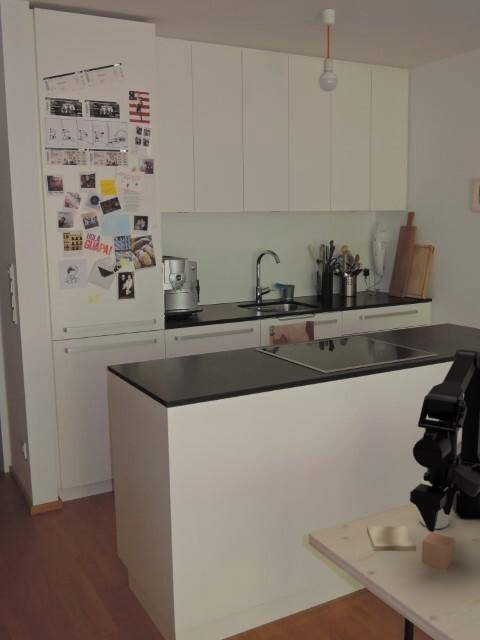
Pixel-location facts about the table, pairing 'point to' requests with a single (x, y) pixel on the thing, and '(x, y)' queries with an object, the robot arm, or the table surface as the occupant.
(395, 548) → the coaster
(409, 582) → the table surface
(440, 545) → the cube
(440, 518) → the can
